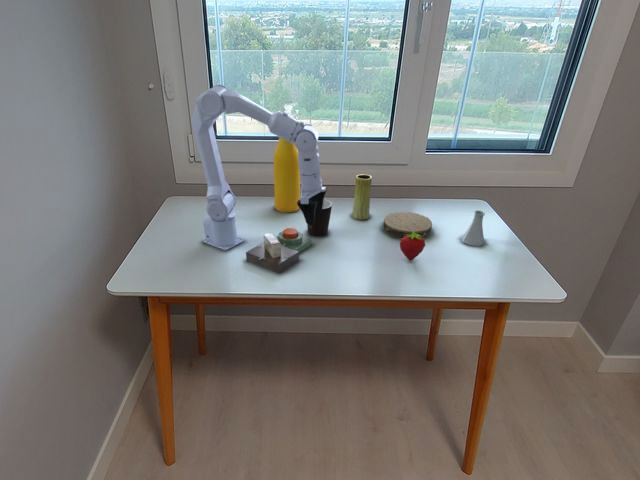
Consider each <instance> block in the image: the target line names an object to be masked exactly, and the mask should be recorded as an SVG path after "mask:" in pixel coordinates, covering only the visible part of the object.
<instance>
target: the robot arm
mask: <svg viewBox="0 0 640 480" xmlns="http://www.w3.org/2000/svg"><path fill="white" fill-rule="evenodd" d="M194 106H195V107H194V111H193V113H192V114H193V115H192V118H191V126H192V130H193V135H194V138H195V142H196V146H197V150H198V154H199V158H200V161H201V165H202V169H203V173H204V177H205V181H206V185H207V190H206V201H207V204H206V213H207V214H206V215H205V216H204V218H203V228H204V236H205V239H204V240H203V243H204V244H207V245H209V246H211V247H215V248H217V249H220V250H223V251H228V250H230V249H232V248H234V247H235V246H237V245H240V244H241V243H243V242H244V240H243V239H241V238H239V237H238V235H237V223H236V214H235V211H234V207H235V206H236V203H237V198H236V196H235V194H234V193H233V192H232V189H231V186H230V185H229V183H228V182H226V176H225V173H224V169H223V168H224V167H223V164H222V160H221V154H220V151H219V146H218V142H217V138H216V133H215V129H214V124H215V123H216V122H217V120H218V119H219V117H220V116H221V114H223V113H224V114H225V115H229V114H235V113H240V114H242V115H244V116H247V118H248V117H249V118H251V119H253V120H255V121H257V122H259V123H261V124H263V125H266V126H267V128H268V130H269V133H271V134H273V135H275V136H277V137H278V138H279V137H281V138H283V139H284V140H286V141H288V142H290V143H294V144H295V147H296V148H297V150H298V161H299V170H300V200H298V201H297V205H298V206H299V209H300V211H301V213H302V215H303V218H304V220H305V223H306V225H307V224H314V223H315V214H321V213H322V208H323V200H324V199H325V196H326V193H327V191H328V190H327V187H326V186H323V179H322V173H321V161H320V154H319V146H318V141H319V131H318V130H317V128H316V127H315V126H314V125H313V124H311V123H306V122H305V121H303V120H301V121H299V120H297V119H295V118H293V117H291V116H290V115H289V112H287V111H286V110H284V111H280V110H279V111H276V112H272V111H270V110H268V109H266V108H265V107H263V106H261V105H260V104H258V103H256V102H254V101H253V100H251V99H250V98H248V97H246V96H244V95H243V94H241V93H239V92H238V91H236V90H235V89H232V88H229V87H227V86H226V85H223V84H216V85H213V87H211V88H209V89H207V90H204V91H203V92H202V93H200V95H199V96H198V97H197V99H195V105H194Z"/></svg>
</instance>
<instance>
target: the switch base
mask: <svg viewBox="0 0 640 480" xmlns="http://www.w3.org/2000/svg"><path fill="white" fill-rule="evenodd" d="M284 245H286V244H284ZM284 245H281V257H277V258H273V257H272V256H271V255H270V253H269V252H268V251H267V250H266V248H265V247H264V241H263V242H262V243H259V244H258V245H256V246H254V247H253V248H251V249H249V250H247V251H246V252H245V257H246V262H247V263H250V264H253V265H256V266H258V267H261V268H263V269H266V270H268V271H270V272H273V273H276V274H278V275H279V274H281V273H282V272H284V271H285V270H287V269H288V268H290V267H291V266H293V265H294V264H296V263H298V262H300V252H298V251H296V250H293V249H290V248H287V247H284Z"/></svg>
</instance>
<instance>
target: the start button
mask: <svg viewBox="0 0 640 480" xmlns="http://www.w3.org/2000/svg"><path fill="white" fill-rule="evenodd" d="M282 231H283V237H284V238H287V239H293V238H297V236H298V229H296V228H295V227H294V228H293V227H287V228H284V229H283V230H282Z"/></svg>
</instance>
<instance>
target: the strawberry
mask: <svg viewBox="0 0 640 480" xmlns="http://www.w3.org/2000/svg"><path fill="white" fill-rule="evenodd" d="M415 231H416V229H415ZM405 235H408V236H405V237H403V238H402V239H400V240H399V241H400V242H399V248H400V250H401V252H402V254H403V255H404V256H405V257H406V259H407V260H408V261H409V262H410V261H413V260H414V259H416V258H417V257H418V256H419V255H420V254H422V252H423V251H424V249H425V247H426V240H425V238H424V239H423V238H422V237H424V236H421V235H419V234H417V232H416V233H414V231H413V232H412V234H405Z"/></svg>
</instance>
